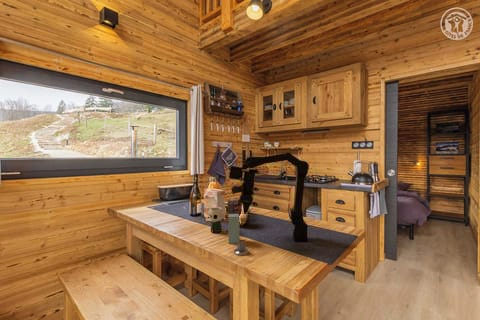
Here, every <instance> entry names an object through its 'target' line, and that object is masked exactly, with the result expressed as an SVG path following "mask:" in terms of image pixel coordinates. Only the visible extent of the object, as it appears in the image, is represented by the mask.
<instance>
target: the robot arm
mask: <svg viewBox="0 0 480 320" xmlns="http://www.w3.org/2000/svg"><path fill="white" fill-rule="evenodd" d="M284 161H287V162H288V163H290V164H291V165H293V167H294V171H295V173H294V174H295V187H294V197H293V206H291V207H292V208H291V207H289V213H288V218H289V219H290V221H291V222H290V223H291V224H292V225H293V229H292V239H293V241H294V242H301V243H308V242H309V239H308V227H309V225H308V223H306V221H305V219H304V212H303V201H304V200H303V197H304V190H305V180H306V177H307V175H308V171H309V168H310V165H309V163H308V162H307V161H305V160H300V159H299V158H297V157H296V156H295V155H293V154H292V153H291V152H284V153H279V154H273V155H266V156H249V157H247V158H246V159H245V161H244V164H243V165H241V166H235V165H230V170H229V173H228V178H229V180H238V181H240V180H241V179H243V182H242V184H240V185H237V184H236V185H233V186H232V187H230V190H231V193H232V195H235V194H238V193H240V195H239V198H240V201H241V202H242V211H243V214H244V215H247V212H249V209H250V208H251V206H252V204H253V202H254V201H253V199H254V195H255V180H256V174H257V175H258V174H260V171H259V170H258V168H257V167H259V166H262V165H266V164H271V163H278V162H284ZM254 168H255V169H254ZM247 169H248V170H247Z"/></svg>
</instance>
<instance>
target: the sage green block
mask: <svg viewBox="0 0 480 320" xmlns="http://www.w3.org/2000/svg"><path fill="white" fill-rule="evenodd" d="M227 227H228V229H227V230H228V231H227V232H228V235H227V236H228V238H227V239H228V244H232V245H233V244H237V242H241V239H240V237H241V236H240V225H239V214H228V213H227Z"/></svg>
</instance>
